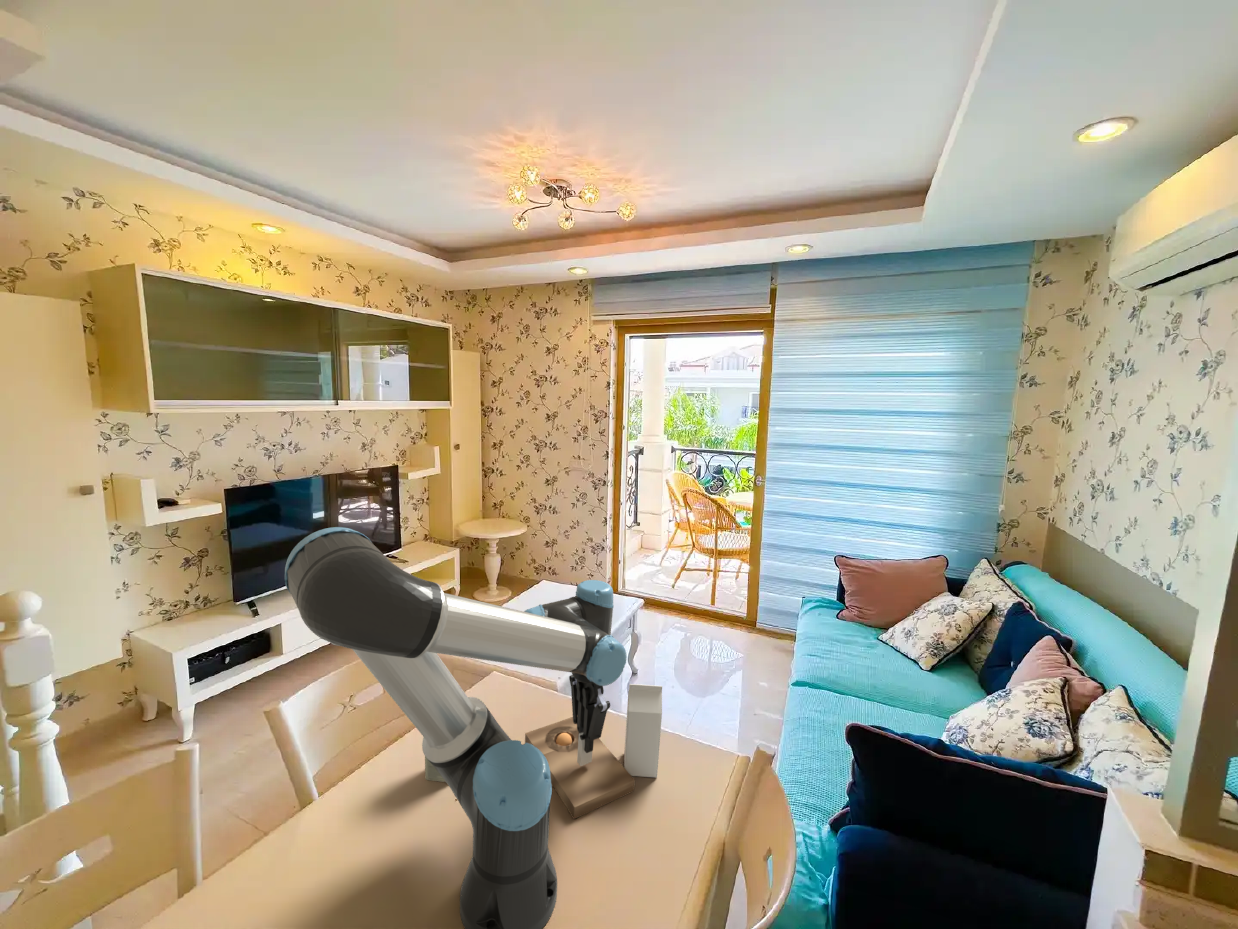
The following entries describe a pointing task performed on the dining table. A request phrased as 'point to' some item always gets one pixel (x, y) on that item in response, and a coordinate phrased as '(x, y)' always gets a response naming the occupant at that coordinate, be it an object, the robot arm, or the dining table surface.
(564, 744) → the ball
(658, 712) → the milk carton
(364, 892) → the dining table surface
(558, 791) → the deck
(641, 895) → the dining table surface
